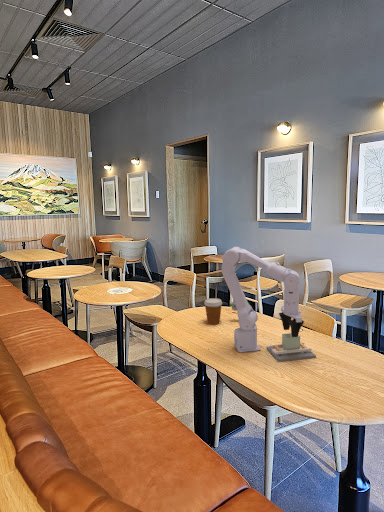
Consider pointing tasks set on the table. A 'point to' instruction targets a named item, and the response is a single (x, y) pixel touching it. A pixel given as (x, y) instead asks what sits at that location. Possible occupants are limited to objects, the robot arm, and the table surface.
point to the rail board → (290, 353)
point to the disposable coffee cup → (213, 310)
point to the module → (290, 342)
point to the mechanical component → (234, 307)
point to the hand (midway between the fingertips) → (290, 333)
